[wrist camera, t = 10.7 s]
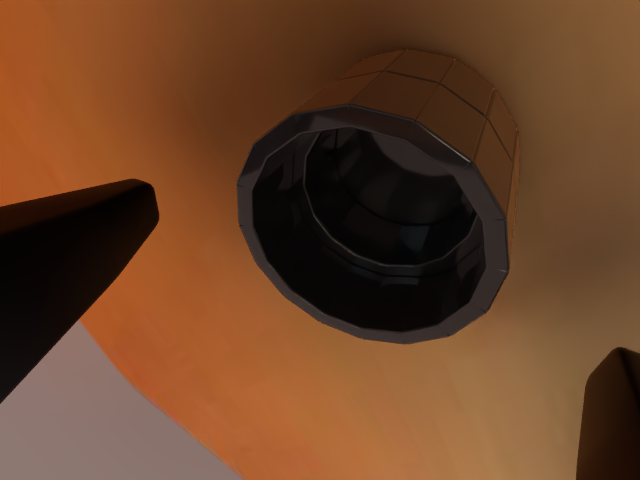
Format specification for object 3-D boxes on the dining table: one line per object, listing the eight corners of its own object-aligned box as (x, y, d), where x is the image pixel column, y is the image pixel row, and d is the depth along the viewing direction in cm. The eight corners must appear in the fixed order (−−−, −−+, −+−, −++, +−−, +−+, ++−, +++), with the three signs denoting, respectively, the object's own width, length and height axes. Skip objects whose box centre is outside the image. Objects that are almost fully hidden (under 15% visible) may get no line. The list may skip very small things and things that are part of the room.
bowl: (478, 258, 13) (454, 377, 9) (311, 205, 14) (241, 291, 11) (561, 72, 9) (570, 158, 6) (327, 25, 11) (228, 74, 7)
